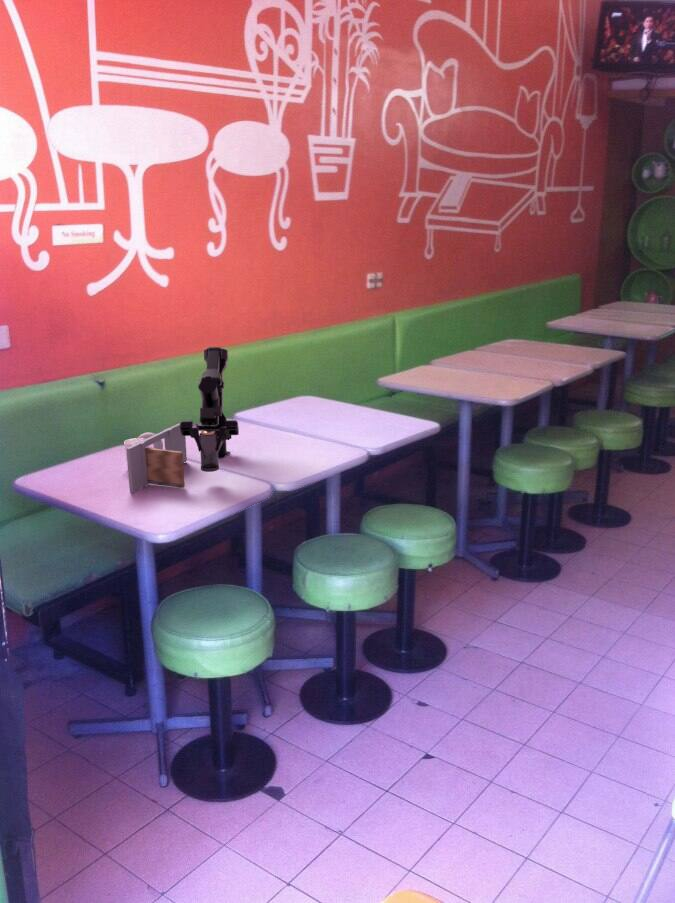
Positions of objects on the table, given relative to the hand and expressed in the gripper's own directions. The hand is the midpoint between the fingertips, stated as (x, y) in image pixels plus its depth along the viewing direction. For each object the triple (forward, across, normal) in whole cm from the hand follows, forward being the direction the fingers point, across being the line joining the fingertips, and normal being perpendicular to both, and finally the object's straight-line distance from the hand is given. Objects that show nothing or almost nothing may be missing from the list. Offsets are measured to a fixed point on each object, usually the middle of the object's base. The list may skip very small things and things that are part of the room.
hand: (208, 450), depth 278 cm
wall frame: (+2, -18, +16) cm, 24 cm away
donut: (-12, -25, +30) cm, 41 cm away
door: (+8, -15, +8) cm, 19 cm away
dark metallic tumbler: (+4, 0, +6) cm, 7 cm away
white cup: (-5, -27, +22) cm, 35 cm away
